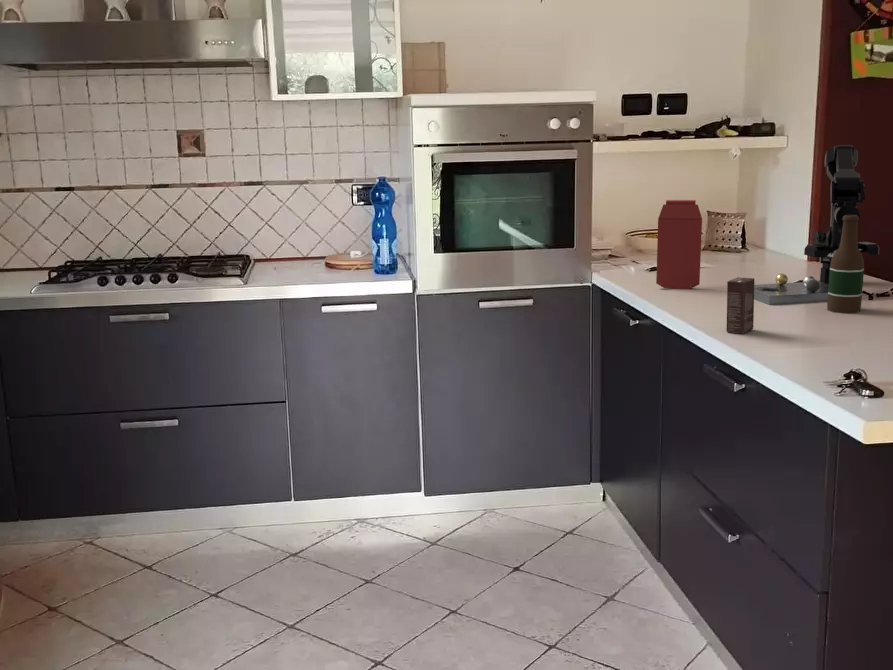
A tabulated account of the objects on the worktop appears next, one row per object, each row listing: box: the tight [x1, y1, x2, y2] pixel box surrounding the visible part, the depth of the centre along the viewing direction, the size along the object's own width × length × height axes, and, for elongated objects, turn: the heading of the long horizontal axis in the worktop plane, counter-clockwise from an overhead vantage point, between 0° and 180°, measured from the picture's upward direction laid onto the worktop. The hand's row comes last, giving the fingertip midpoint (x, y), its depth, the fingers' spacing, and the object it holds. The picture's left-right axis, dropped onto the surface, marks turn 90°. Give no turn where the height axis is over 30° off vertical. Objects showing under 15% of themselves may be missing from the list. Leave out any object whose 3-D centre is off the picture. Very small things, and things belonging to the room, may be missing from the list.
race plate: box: [754, 280, 829, 306], centre depth 244 cm, size 23×16×2 cm
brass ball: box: [775, 273, 789, 285], centre depth 248 cm, size 3×3×3 cm
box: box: [726, 276, 755, 335], centre depth 206 cm, size 6×4×12 cm
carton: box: [655, 199, 703, 290], centre depth 260 cm, size 12×5×25 cm, turn 74°
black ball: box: [807, 279, 820, 292], centre depth 238 cm, size 3×3×3 cm
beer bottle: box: [826, 215, 865, 314], centre depth 222 cm, size 8×8×24 cm
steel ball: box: [802, 275, 816, 287], centre depth 244 cm, size 3×3×3 cm
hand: (839, 281), depth 245 cm, fingers closed
